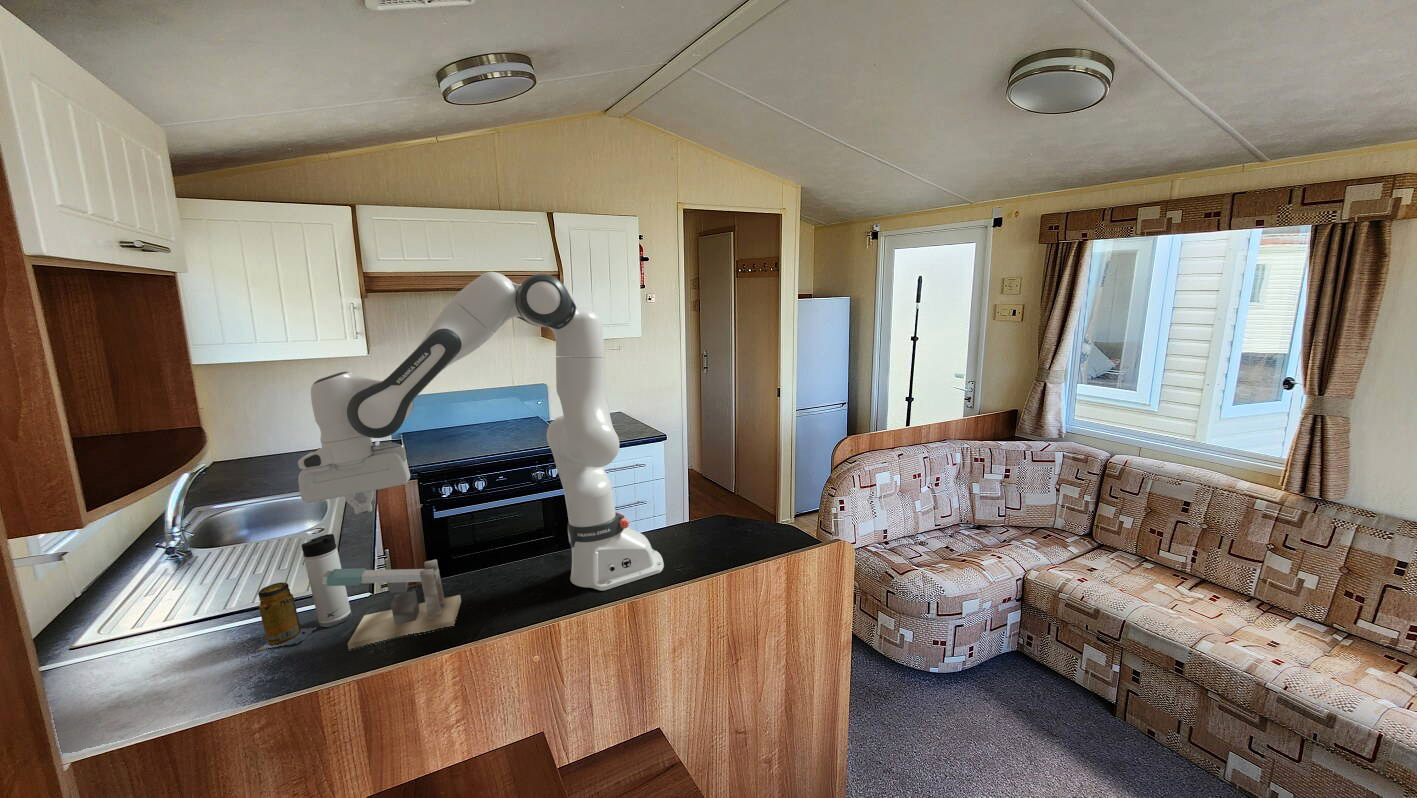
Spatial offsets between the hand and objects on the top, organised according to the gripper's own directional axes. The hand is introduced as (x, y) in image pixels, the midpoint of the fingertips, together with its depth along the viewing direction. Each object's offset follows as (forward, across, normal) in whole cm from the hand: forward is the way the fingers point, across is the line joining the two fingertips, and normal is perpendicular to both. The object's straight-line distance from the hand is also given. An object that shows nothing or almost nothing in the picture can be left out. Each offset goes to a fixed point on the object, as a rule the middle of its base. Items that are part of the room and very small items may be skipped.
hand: (364, 512), depth 125 cm
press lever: (+17, -1, +4) cm, 17 cm away
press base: (+26, -4, +4) cm, 26 cm away
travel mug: (+25, +13, -7) cm, 29 cm away
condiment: (+25, +21, -3) cm, 33 cm away
